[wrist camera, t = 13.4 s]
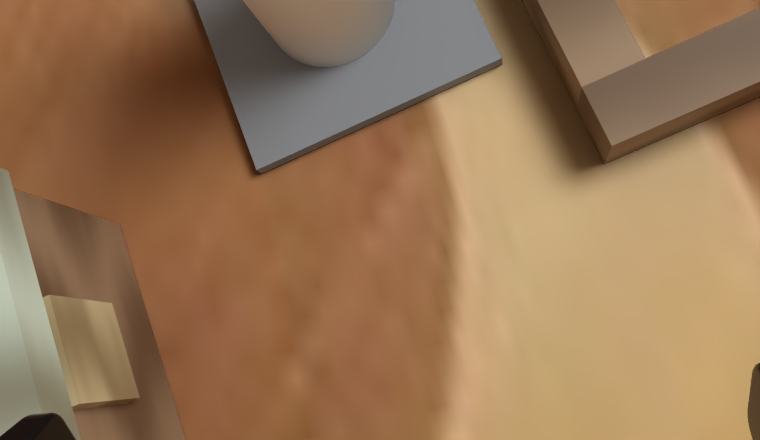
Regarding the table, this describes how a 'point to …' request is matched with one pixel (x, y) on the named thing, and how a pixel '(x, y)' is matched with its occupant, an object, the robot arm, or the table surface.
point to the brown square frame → (645, 72)
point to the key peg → (324, 27)
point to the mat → (341, 74)
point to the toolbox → (76, 326)
